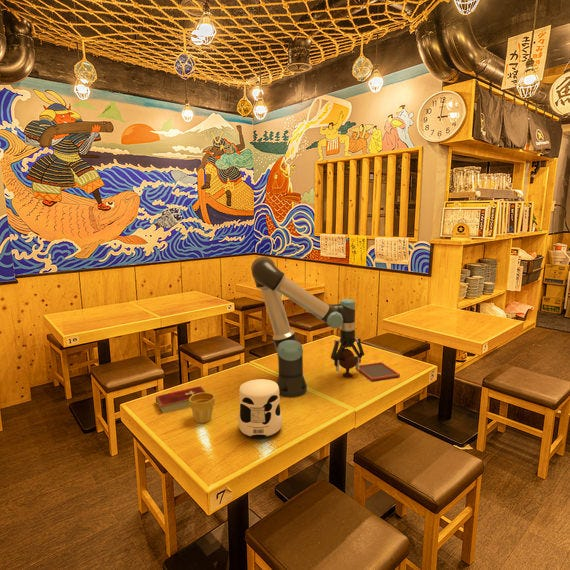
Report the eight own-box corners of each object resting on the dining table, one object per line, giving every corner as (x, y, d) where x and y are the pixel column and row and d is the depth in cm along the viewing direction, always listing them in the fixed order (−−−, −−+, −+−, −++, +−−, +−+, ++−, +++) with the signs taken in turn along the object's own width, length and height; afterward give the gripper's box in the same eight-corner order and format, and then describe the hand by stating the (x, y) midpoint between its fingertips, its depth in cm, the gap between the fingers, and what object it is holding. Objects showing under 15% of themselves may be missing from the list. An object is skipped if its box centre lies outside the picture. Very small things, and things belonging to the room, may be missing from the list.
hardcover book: (156, 404, 181) (155, 395, 181) (200, 393, 191) (200, 385, 190) (161, 415, 171) (161, 406, 170) (208, 403, 181) (208, 394, 180)
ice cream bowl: (359, 379, 201) (360, 351, 198) (337, 380, 201) (337, 351, 199) (356, 371, 211) (356, 344, 209) (335, 371, 212) (335, 345, 209)
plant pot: (204, 410, 173) (203, 389, 171) (220, 417, 166) (219, 396, 165) (185, 420, 165) (183, 398, 163) (201, 428, 158) (199, 405, 157)
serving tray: (371, 381, 198) (371, 378, 198) (355, 368, 215) (355, 365, 215) (399, 377, 203) (399, 374, 202) (381, 365, 220) (381, 362, 219)
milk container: (266, 414, 168) (265, 374, 165) (291, 431, 154) (290, 388, 151) (230, 428, 158) (228, 385, 155) (253, 447, 144) (251, 401, 141)
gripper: (329, 333, 195) (329, 376, 199) (371, 329, 202) (371, 370, 205) (323, 329, 202) (324, 370, 206) (364, 325, 209) (364, 365, 213)
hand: (347, 370), depth 206 cm, fingers closed on ice cream bowl, 11 cm apart
